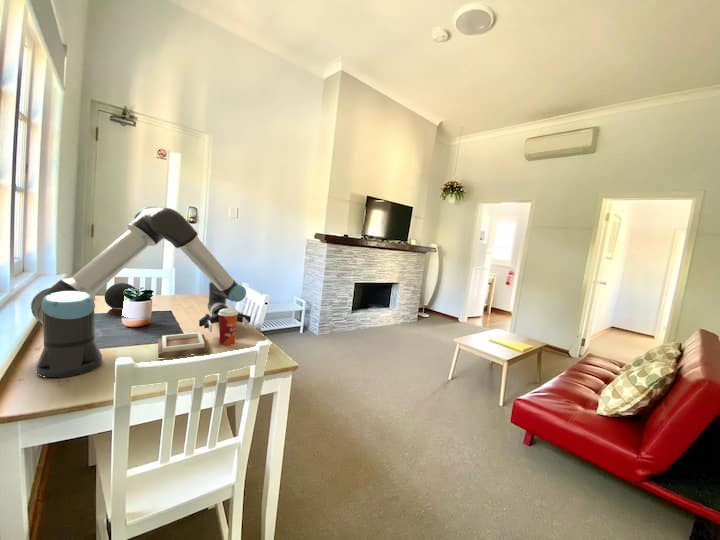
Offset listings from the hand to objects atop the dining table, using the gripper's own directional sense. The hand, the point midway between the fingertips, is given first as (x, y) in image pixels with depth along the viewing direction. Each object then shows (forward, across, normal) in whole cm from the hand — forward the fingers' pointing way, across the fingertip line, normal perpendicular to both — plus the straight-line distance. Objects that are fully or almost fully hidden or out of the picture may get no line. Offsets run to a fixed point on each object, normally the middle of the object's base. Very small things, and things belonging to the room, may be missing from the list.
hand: (229, 326), depth 123 cm
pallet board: (-3, +16, -8) cm, 18 cm away
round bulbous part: (-60, +39, -8) cm, 72 cm away
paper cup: (-3, 0, -8) cm, 9 cm away
